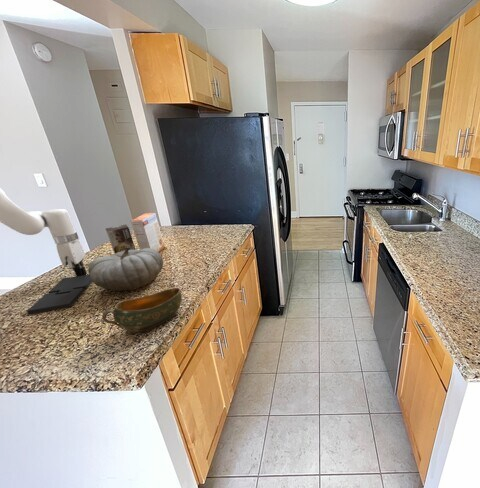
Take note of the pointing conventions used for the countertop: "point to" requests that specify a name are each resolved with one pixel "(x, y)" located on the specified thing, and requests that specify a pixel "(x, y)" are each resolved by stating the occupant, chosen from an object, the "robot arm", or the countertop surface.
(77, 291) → the base pad
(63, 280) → the pad
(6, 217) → the robot arm
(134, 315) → the green gravy boat
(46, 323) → the countertop surface
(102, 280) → the gourd
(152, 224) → the cracker box
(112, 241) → the coffee box
